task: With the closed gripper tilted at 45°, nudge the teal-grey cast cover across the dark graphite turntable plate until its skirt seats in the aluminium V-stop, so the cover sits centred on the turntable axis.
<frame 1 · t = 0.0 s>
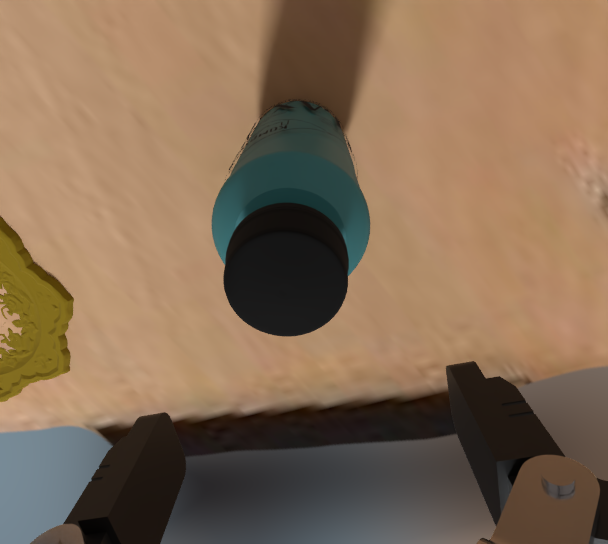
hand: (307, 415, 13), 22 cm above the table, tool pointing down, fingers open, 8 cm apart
beverage bottle: (297, 144, 31), on the table
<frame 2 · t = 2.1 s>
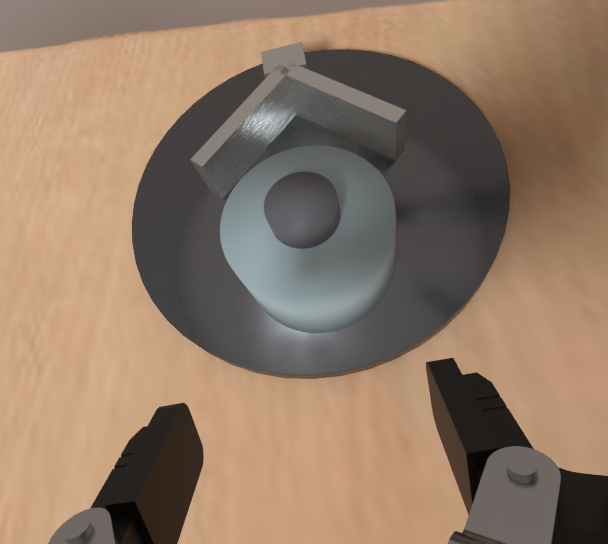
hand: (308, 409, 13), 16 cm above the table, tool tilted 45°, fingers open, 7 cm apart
cast cover: (320, 262, 31), point 1 cm above the table, touching turntable
turntable: (311, 196, 35), on the table
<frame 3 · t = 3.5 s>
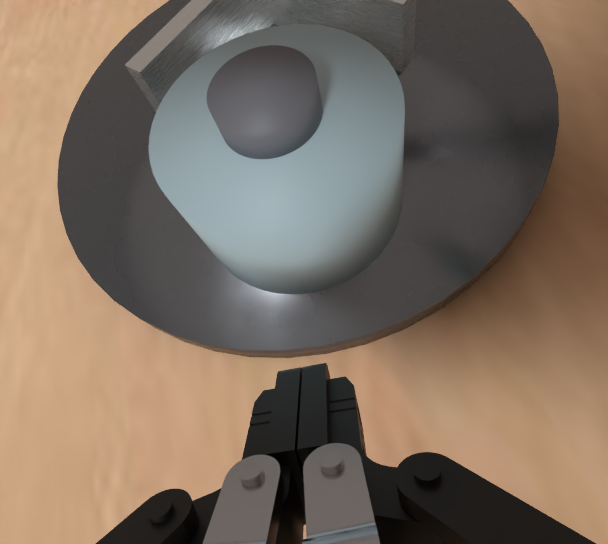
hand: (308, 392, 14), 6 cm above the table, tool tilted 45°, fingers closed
cast cover: (300, 201, 23), point 1 cm above the table, touching turntable
turntable: (291, 124, 27), on the table
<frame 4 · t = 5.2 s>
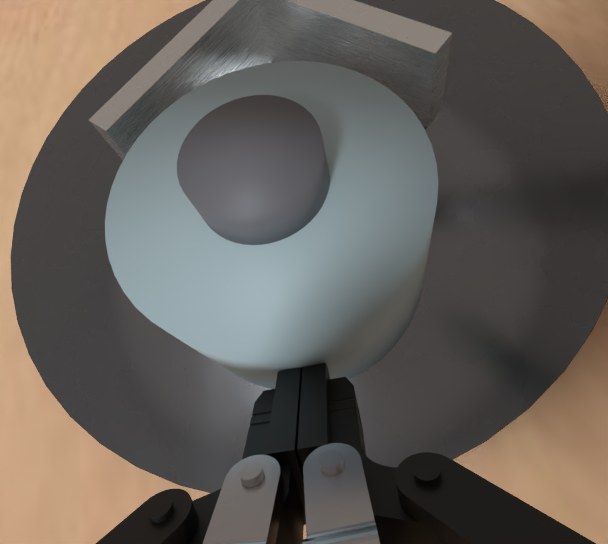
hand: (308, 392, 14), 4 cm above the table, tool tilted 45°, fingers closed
cast cover: (299, 268, 19), point 2 cm above the table, touching gripper
turntable: (292, 184, 22), on the table
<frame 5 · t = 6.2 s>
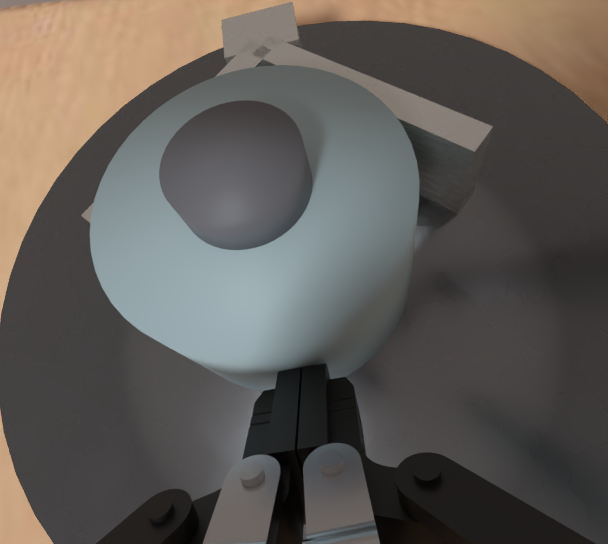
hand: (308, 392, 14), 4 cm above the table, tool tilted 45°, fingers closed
cast cover: (287, 270, 19), point 2 cm above the table, touching gripper, turntable
turntable: (307, 268, 20), on the table
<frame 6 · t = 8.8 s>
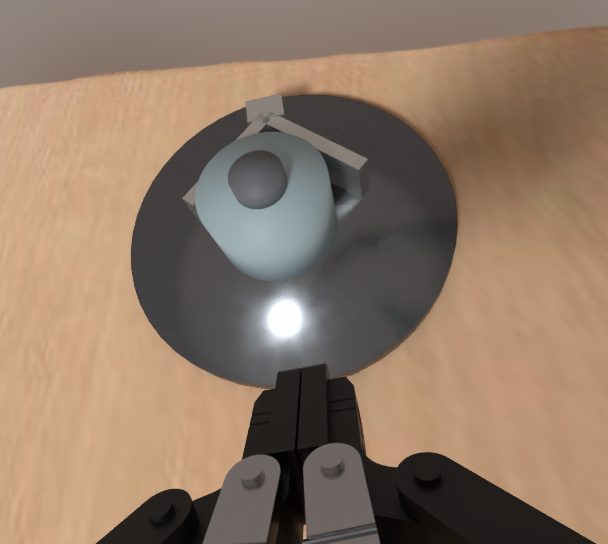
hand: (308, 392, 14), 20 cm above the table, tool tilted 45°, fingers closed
cast cover: (278, 227, 38), point 1 cm above the table, touching turntable
turntable: (288, 227, 39), on the table
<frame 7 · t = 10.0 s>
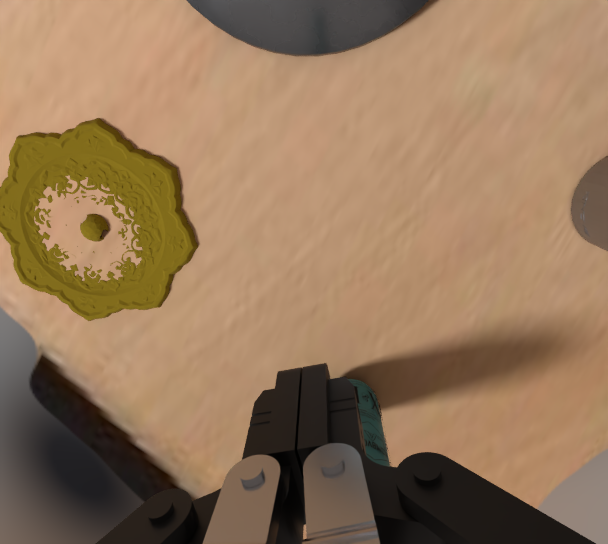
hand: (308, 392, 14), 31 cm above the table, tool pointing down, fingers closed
beverage bottle: (347, 392, 50), on the table
decorative medallion: (96, 225, 45), on the table
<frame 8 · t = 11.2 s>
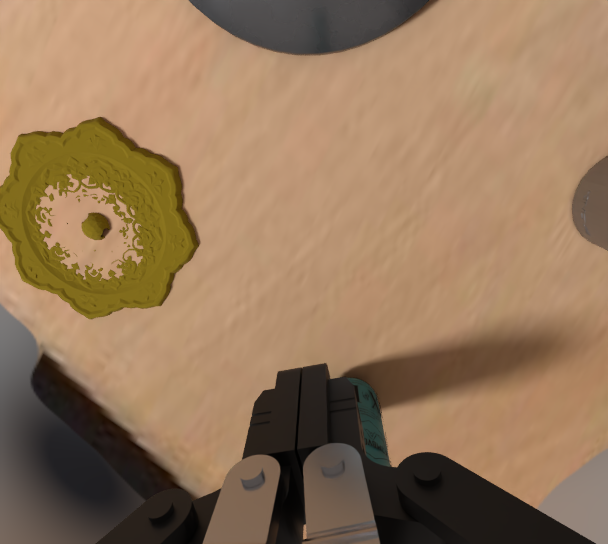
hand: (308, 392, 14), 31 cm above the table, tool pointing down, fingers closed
beverage bottle: (347, 391, 50), on the table
decorative medallion: (97, 224, 45), on the table
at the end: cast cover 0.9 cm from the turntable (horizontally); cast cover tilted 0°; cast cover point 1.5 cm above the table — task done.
